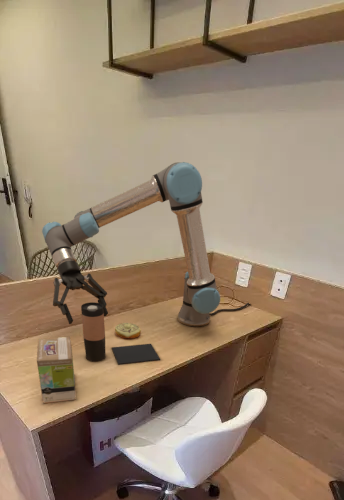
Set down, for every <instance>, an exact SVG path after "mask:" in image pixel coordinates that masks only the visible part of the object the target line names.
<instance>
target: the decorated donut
mask: <svg viewBox="0 0 344 500" xmlns="http://www.w3.org/2000/svg"><path fill="white" fill-rule="evenodd" d="M114 332H115V333H116V335H117V337H120V338H124V339H130V340H131V339H135V338H139V337H140V335H141V332H142V330H141V328H140V326H139V325H137V324H135V323H133V322H121V323H119V324H117V325H115V326H114Z"/></svg>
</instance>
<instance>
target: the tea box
mask: <svg viewBox="0 0 344 500" xmlns="http://www.w3.org/2000/svg"><path fill="white" fill-rule="evenodd" d="M36 351H37V352H36V364H37V365H36V366H37V372H38V379H39V384H40V385H39V386H40V391H41V397H42V398H41V399H42V402H43V404H46V403H47V404H48V403H55V402H56V403H57V402H58V403H59V402H67V401H74V400H76V399H77V394H76V393H77V392H76V378H75V368H74V358H73V357H74V356H73V349H72V341H71V337H70V336H64V337H62V336H60V337H43V338H38V339H37V350H36Z"/></svg>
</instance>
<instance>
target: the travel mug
mask: <svg viewBox="0 0 344 500" xmlns="http://www.w3.org/2000/svg"><path fill="white" fill-rule="evenodd" d="M80 310H81V321H82V336H83V343H84V344H83V345H84V351H85V352H84V353H85V358H86V359H85V360H87V361H89V362H92V363H93V362H94V363H96V362H97V363H98V362H102V361H103V360H105V359H106V330H105V329H106V328H105V327H106V326H105V317H104V310H103V305H102V304H100V303H98V302H96V301H95V302H93V301H92V302H85V303H83V304H81V305H80Z"/></svg>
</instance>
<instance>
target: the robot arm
mask: <svg viewBox="0 0 344 500" xmlns="http://www.w3.org/2000/svg"><path fill="white" fill-rule="evenodd" d="M202 188H203V179H202V175H201V173H200V171H199V170H198V169H197V168H196V166H194V165H193V164H191V163H189V162H185V161H182V162H173V163H171V164H170V165H168V166H167V167H165V168H164V169H162V170H160V171H158V172H157V173H155V174H153V175H152V176H151V178H150V179H149V180H147V181H145V182H143V183H141V184H138V185H136V186H135V187H133V188H130V189H128V190H126V191H123V192H122V193H119V194H116V195H115V196H113V197H111V198H108V199H106V200H104V201H102V202H100V203H98V204H96V205H94V206H91V207H89V208H87V209H85V210H81V211H78V212H77V213H76V214H75V215H74V218H73V219H72V220H69V221H68V222H66V223H64V224H61V223H60V222H58V221H52V222H47V223H45V224H44V225H43V227H42V229H41V233H42V236H43V238H44V243H45V245H46V246H47V249H48V250H49V251H48V252H49V253H50V255H51V258H52V261H53V262H54V265H55V267H56V269H57V273H58V275H59V277H60V278H58V277H55V278H54V280H53V286H54V289H53V297H52V298H53V299H52V306H53V307H57V308H58V309H60V311H61V315H62V316H65V317H66V319H67V322H68V324H69V325H72V324H73V322H74V318H73V317H72V314H71V312H70V309H69V307H68V305H67V303H65V301H66V298H67V296H68V293H69V291H70V290H71V291H75V290H80V289H82V290H83V291H86V292H87V293H88V294H90V295H92V296H93V297H94V298H96V299H97V303H100V304H102V305H103V310H104V318H105V317H107V316H108V314H109V311H108V308H107V301H106V299H105V298H106V297H107V295H108V292H107V291H106V290H105V289H104V288H103V287H102V286H101V285H100V284H99V283H98V282H97V280H95V279H94V278H93V276H92V274H91V273H87V274H86V275H83V273H82V271H81V268H80V266H79V263H78V262H77V259H76V256H75V254H74V252H73V249H72V247H74V246H76V245H78V244H80V243H82V242H84V241H86V240H88V239H90V238H93V237H94V236H96V235H97V234H99V233H100V229H101V228H102V227H104V226H107V225H108V224H111V223H113V222H115V221H117V220H120V219H122V218H124V217H126V216H129V215H131V214H133V213H135V212H137V211H139V210H140V211H141V210H142V209H144V208H146V207H149V206H150V205H153V204H155V203H158V202H160V203H164V202H166V201H169V202H168V203H169V207H170V211H171V212H172V213H174V214H175V215H176V219H177V225H178V229H179V235H180V239H181V244H182V249H183V253H184V259H185V263H186V268H187V271H186V272H185V273H184V283H183V294H182V295H183V296H182V305H181V307H180V309H179V311H178V314H177V321H178V322H179V323H180V324H182V325H184V326H188V327H194V328H196V327H197V328H198V327H205V326H207V325H209V324H210V321H211V320H210V319H211V316H214V315H216V314H218V313H220V312H235V311H239V310H242V309H244V308H246V307H247V306H252V304H251V303H250V302H247V303H245V304H244V305H242V306H240V307H237V308H219V309H217V308H218V307H219V306H220V303H221V294H220V292H219V290H218V289H217V283H216V282H217V281H216V276H215V275H214V274H213V273H211V270H210V264H209V258H208V251H207V245H206V241H205V240H206V239H205V234H204V233H205V232H204V228H203V222H202V216H201V210H200V209H201V207H202V205H203V204H204V203H203V195H202ZM61 285H63V286H65V289H64V290H63V293H62V295H61V298H60V300H59V295H60V286H61ZM249 303H250V304H249Z"/></svg>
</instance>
